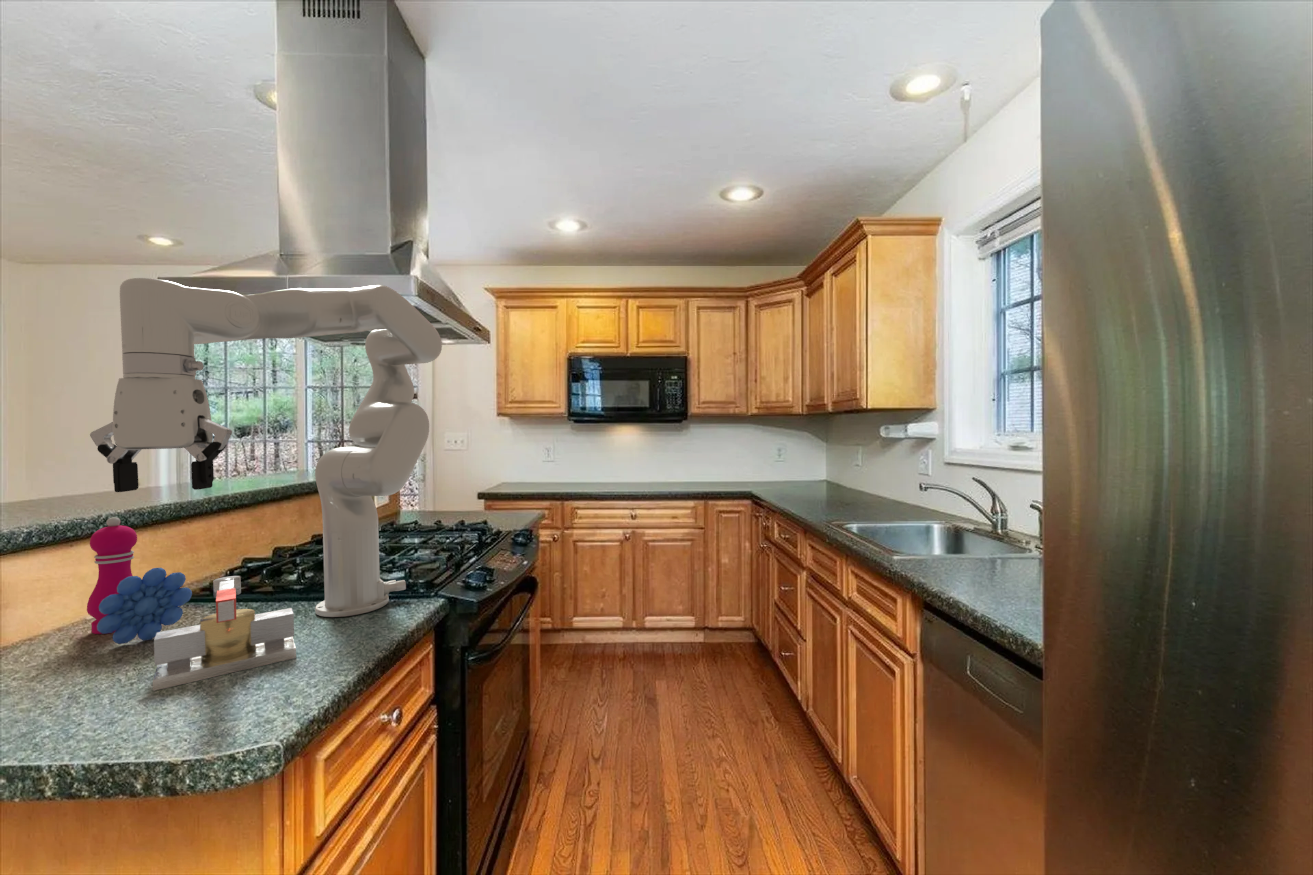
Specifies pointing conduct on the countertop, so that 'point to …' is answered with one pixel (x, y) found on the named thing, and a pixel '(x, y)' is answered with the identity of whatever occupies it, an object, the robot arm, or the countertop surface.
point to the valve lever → (226, 597)
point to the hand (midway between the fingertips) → (165, 489)
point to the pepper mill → (110, 563)
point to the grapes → (143, 605)
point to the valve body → (223, 646)
